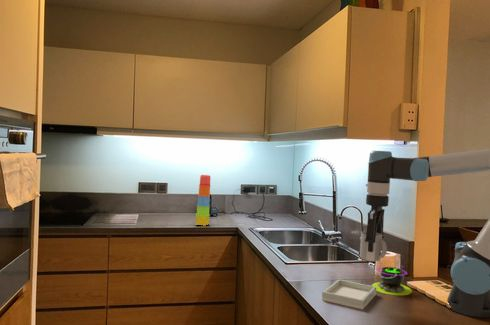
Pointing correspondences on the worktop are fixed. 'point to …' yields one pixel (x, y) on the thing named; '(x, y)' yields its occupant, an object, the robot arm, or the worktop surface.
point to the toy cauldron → (392, 281)
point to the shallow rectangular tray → (349, 294)
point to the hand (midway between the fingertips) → (373, 258)
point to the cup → (379, 244)
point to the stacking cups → (203, 201)
